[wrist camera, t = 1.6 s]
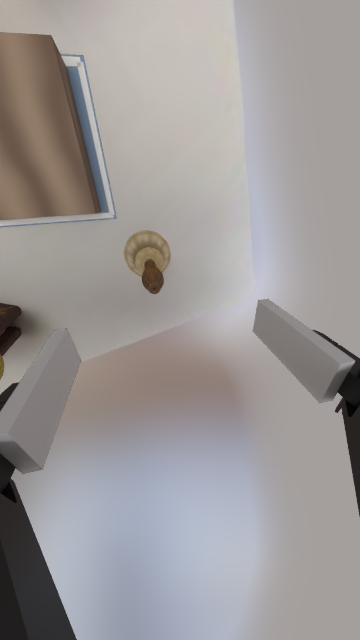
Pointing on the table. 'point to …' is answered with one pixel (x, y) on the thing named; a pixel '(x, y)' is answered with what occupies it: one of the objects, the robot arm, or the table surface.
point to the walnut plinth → (40, 134)
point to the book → (7, 330)
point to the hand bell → (148, 258)
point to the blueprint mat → (93, 147)
